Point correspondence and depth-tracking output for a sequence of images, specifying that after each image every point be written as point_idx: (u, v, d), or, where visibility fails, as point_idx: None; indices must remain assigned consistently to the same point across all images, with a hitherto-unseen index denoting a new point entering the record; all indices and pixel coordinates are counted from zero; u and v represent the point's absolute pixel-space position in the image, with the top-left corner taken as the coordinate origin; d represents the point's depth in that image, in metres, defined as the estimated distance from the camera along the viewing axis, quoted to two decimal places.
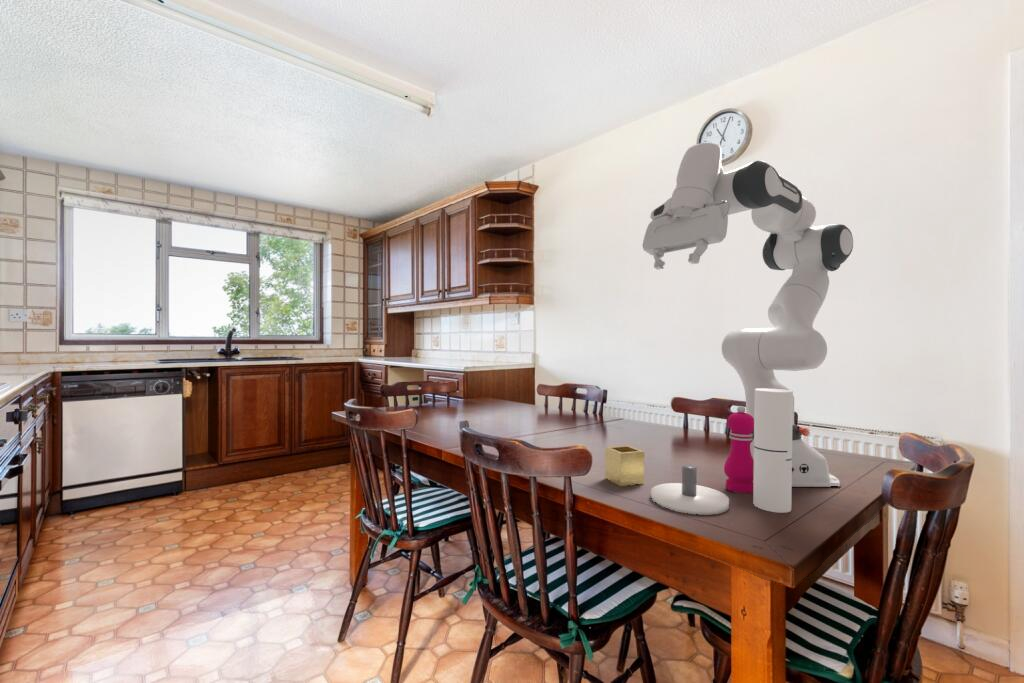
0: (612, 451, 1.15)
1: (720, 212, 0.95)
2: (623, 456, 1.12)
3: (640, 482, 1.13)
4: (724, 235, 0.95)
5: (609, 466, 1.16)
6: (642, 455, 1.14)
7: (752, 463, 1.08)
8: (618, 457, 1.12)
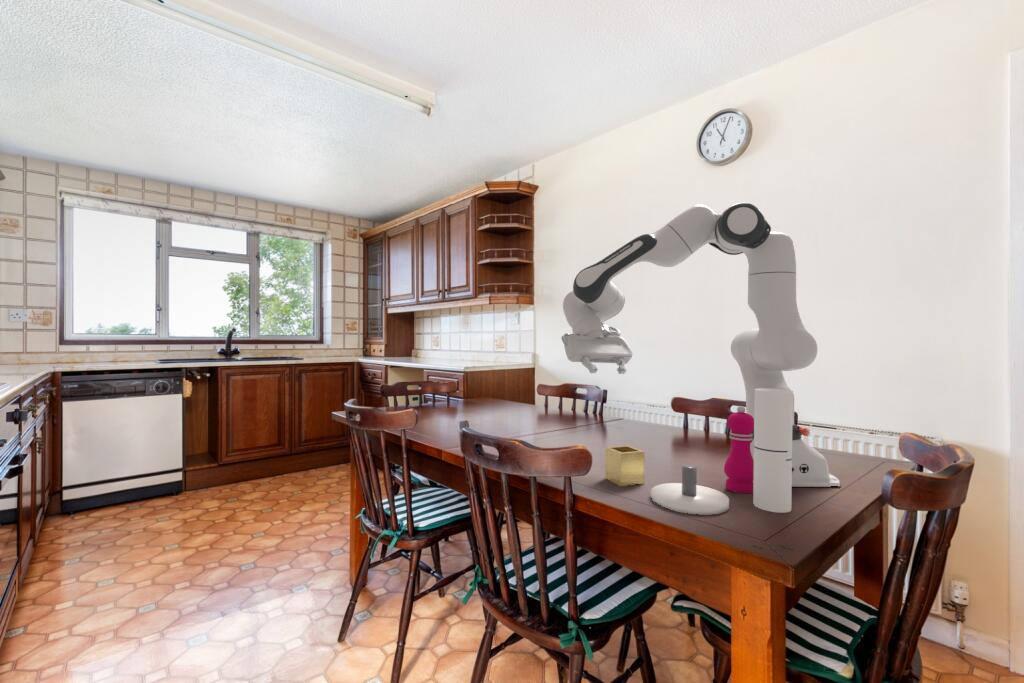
0: (612, 451, 1.15)
1: (564, 346, 1.29)
2: (623, 456, 1.12)
3: (640, 482, 1.13)
4: (571, 352, 1.24)
5: (609, 466, 1.16)
6: (642, 455, 1.14)
7: (752, 463, 1.08)
8: (618, 457, 1.12)
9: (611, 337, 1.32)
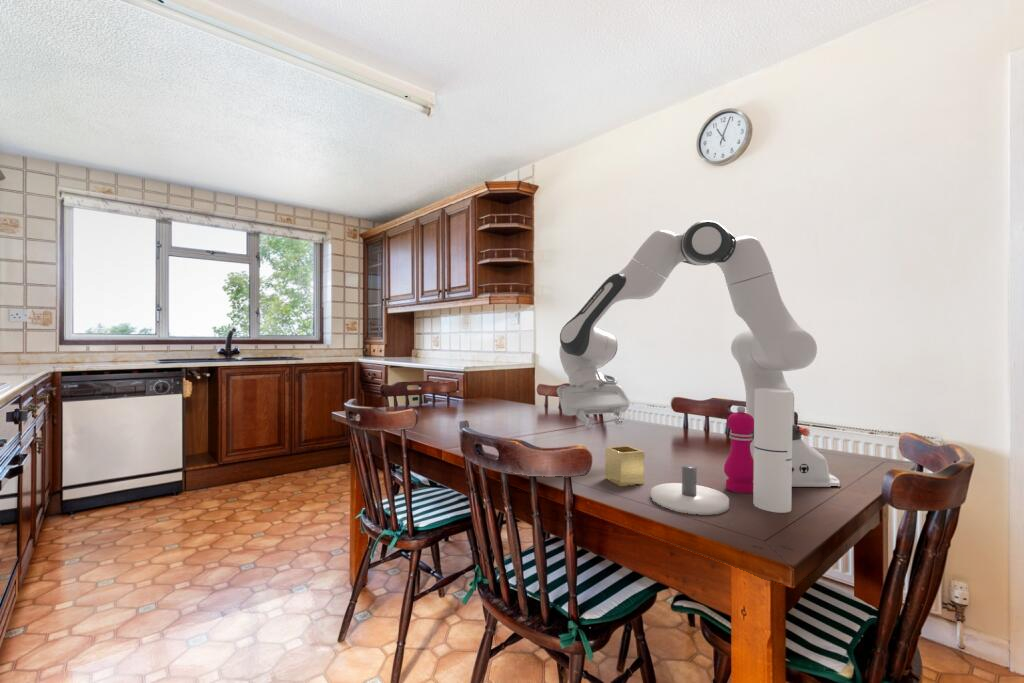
0: (612, 451, 1.15)
1: (560, 399, 1.29)
2: (623, 456, 1.12)
3: (640, 482, 1.13)
4: (566, 406, 1.24)
5: (609, 466, 1.16)
6: (642, 455, 1.14)
7: (752, 463, 1.08)
8: (618, 457, 1.12)
9: (607, 387, 1.32)
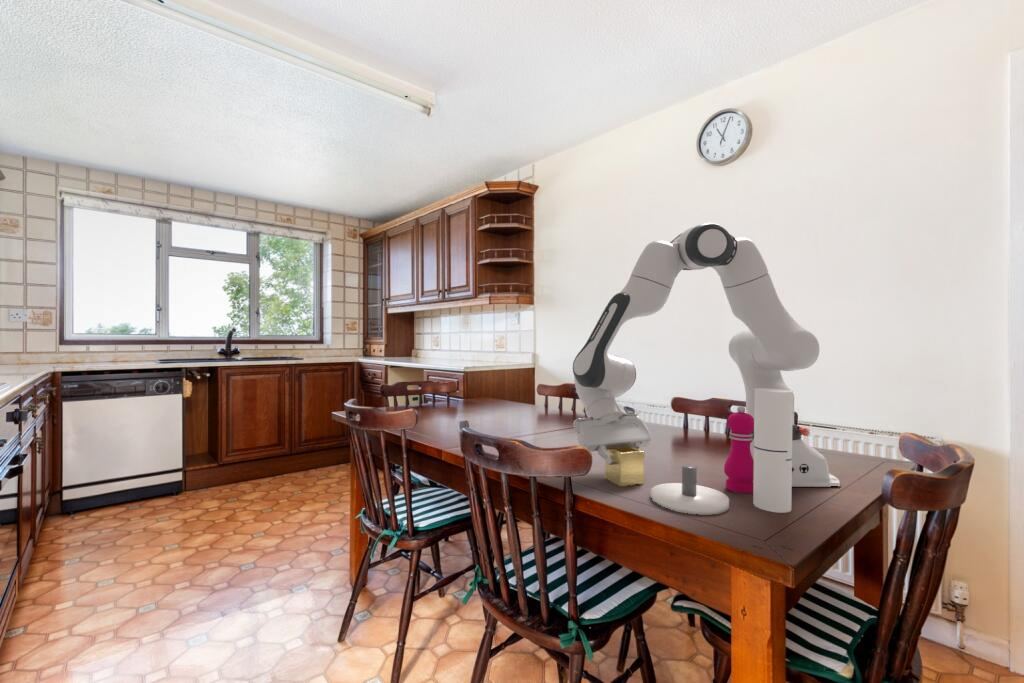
0: (612, 451, 1.15)
1: None
2: (623, 456, 1.12)
3: (640, 482, 1.13)
4: (584, 443, 1.15)
5: (609, 466, 1.16)
6: (642, 455, 1.14)
7: (752, 463, 1.08)
8: (618, 457, 1.12)
9: (627, 419, 1.22)
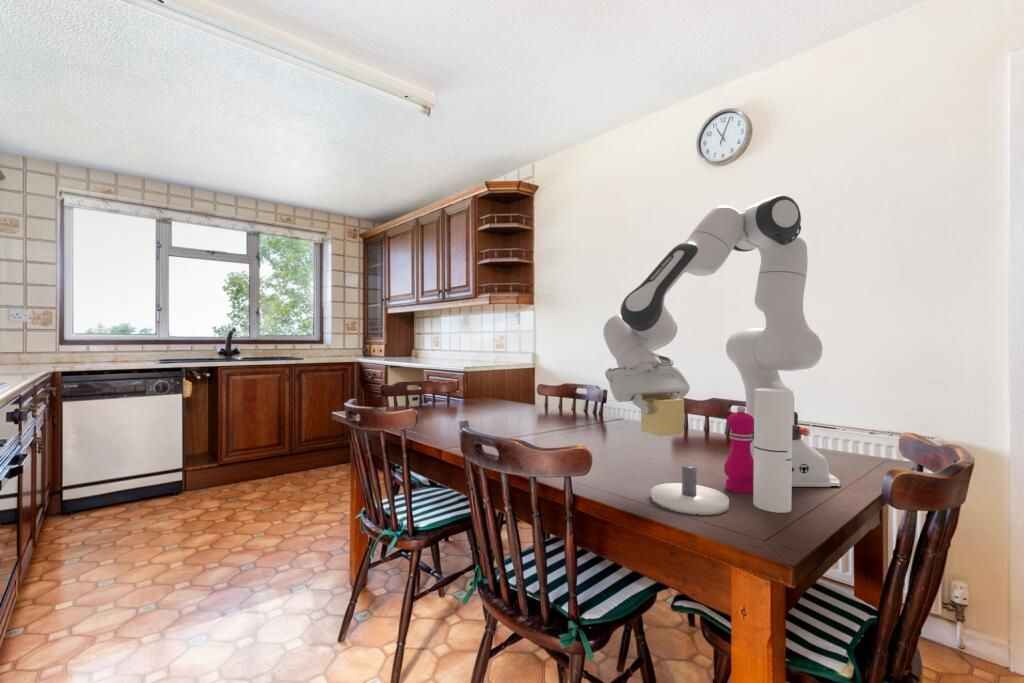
0: (649, 400, 1.07)
1: (609, 383, 1.11)
2: (662, 403, 1.03)
3: (680, 432, 1.05)
4: (618, 391, 1.07)
5: (645, 416, 1.08)
6: (682, 403, 1.05)
7: (752, 463, 1.08)
8: (656, 405, 1.04)
9: (663, 369, 1.14)
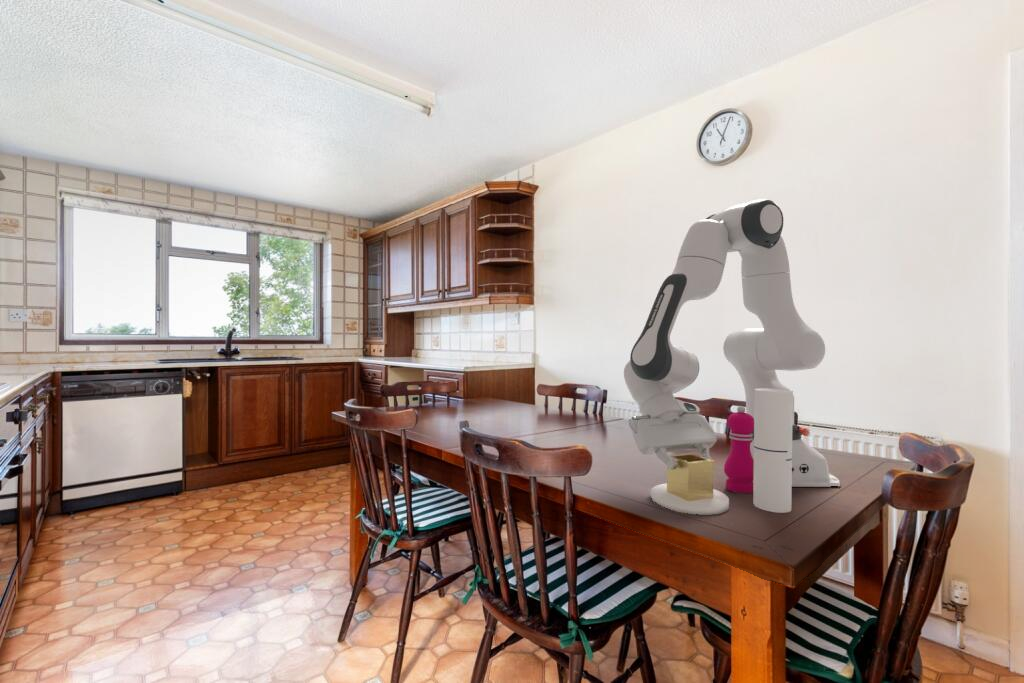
0: (676, 460, 1.01)
1: (633, 433, 1.05)
2: (691, 466, 0.98)
3: (709, 496, 0.99)
4: (644, 444, 1.01)
5: (672, 477, 1.02)
6: (711, 465, 1.00)
7: (752, 463, 1.08)
8: (685, 467, 0.98)
9: (688, 417, 1.08)
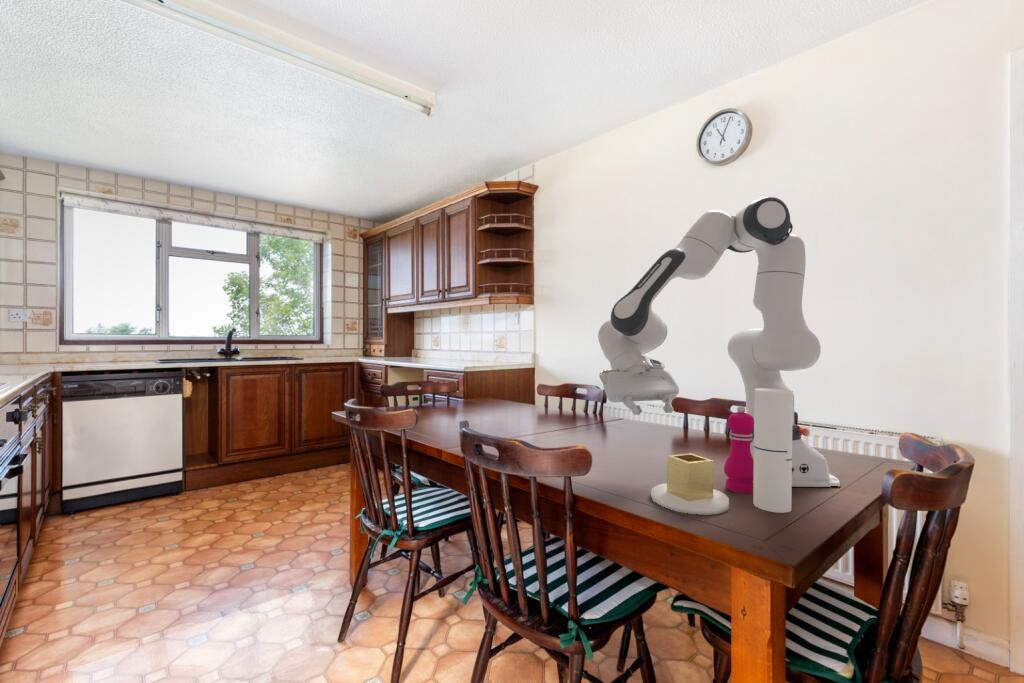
0: (676, 460, 1.01)
1: (603, 384, 1.17)
2: (691, 466, 0.98)
3: (709, 496, 0.99)
4: (611, 392, 1.13)
5: (672, 477, 1.02)
6: (711, 465, 1.00)
7: (752, 463, 1.08)
8: (685, 467, 0.98)
9: (654, 372, 1.20)
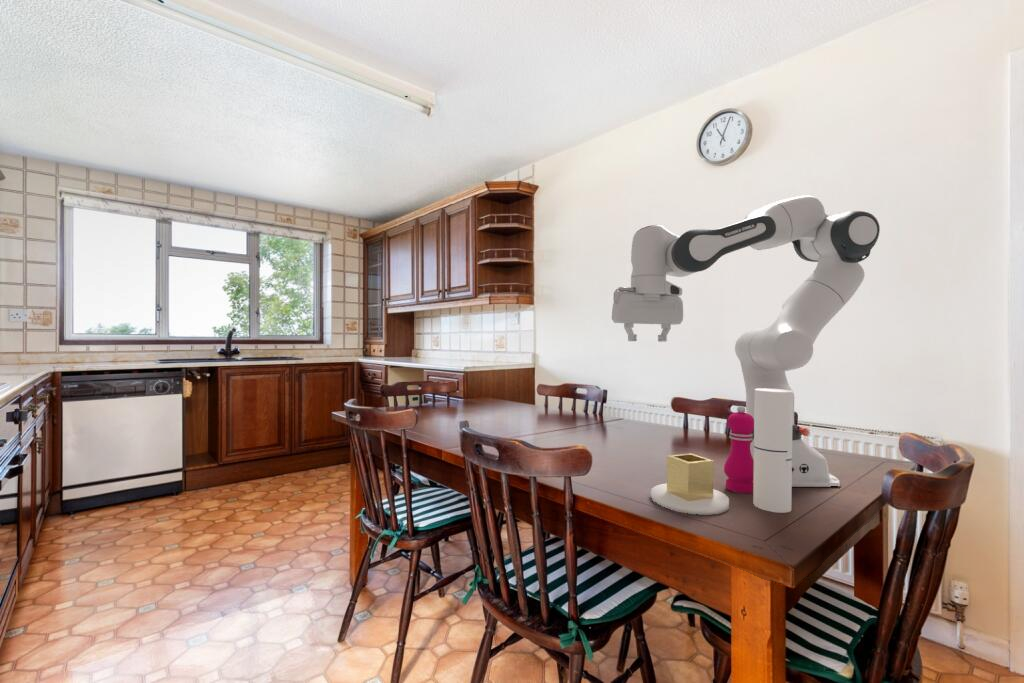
0: (676, 460, 1.01)
1: (614, 301, 1.18)
2: (691, 466, 0.98)
3: (709, 496, 0.99)
4: (617, 318, 1.16)
5: (672, 477, 1.02)
6: (711, 465, 1.00)
7: (752, 463, 1.08)
8: (685, 467, 0.98)
9: (668, 299, 1.20)
